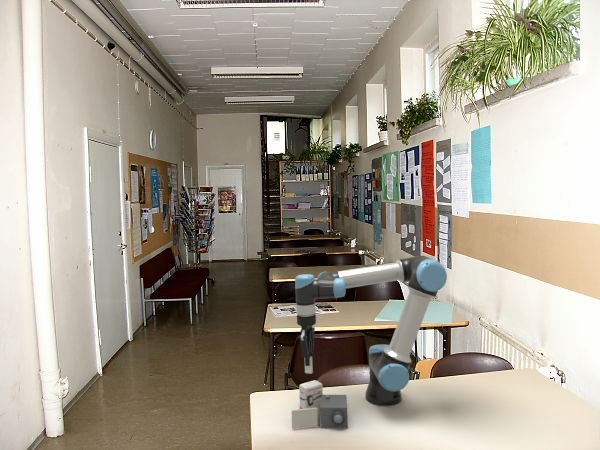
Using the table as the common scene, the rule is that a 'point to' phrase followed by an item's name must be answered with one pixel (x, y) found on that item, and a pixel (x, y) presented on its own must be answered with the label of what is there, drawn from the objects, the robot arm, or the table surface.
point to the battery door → (305, 418)
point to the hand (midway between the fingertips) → (308, 372)
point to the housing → (334, 411)
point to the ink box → (310, 394)
